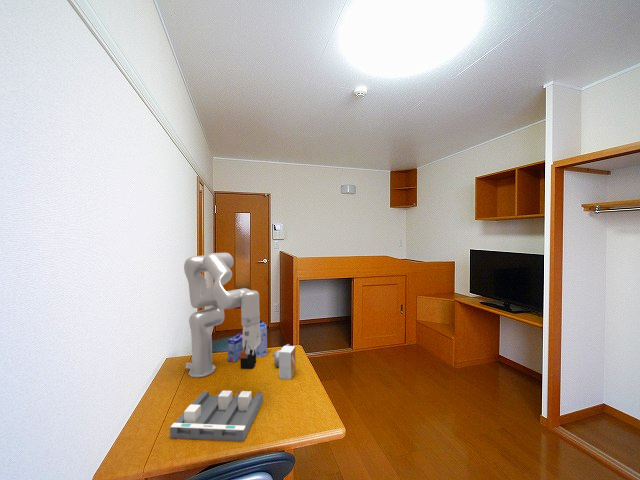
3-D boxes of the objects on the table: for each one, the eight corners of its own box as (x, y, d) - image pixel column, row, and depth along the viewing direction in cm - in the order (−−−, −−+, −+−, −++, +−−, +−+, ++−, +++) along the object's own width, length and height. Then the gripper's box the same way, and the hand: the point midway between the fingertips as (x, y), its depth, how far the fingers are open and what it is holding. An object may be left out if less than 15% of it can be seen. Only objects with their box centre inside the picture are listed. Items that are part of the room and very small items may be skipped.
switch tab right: (238, 410, 103) (238, 396, 103) (242, 404, 107) (241, 391, 107) (248, 410, 103) (248, 397, 103) (251, 404, 107) (251, 391, 107)
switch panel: (170, 437, 92) (170, 426, 92) (203, 399, 114) (203, 390, 114) (243, 441, 89) (243, 429, 89) (262, 401, 111) (262, 392, 111)
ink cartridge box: (235, 362, 147) (235, 336, 147) (227, 361, 149) (226, 335, 149) (246, 355, 156) (245, 330, 156) (238, 354, 158) (238, 329, 158)
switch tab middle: (218, 409, 104) (218, 396, 104) (222, 403, 108) (222, 390, 108) (228, 410, 103) (228, 396, 103) (232, 403, 107) (232, 390, 107)
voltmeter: (298, 368, 139) (297, 349, 139) (276, 373, 135) (276, 353, 135) (283, 349, 164) (283, 333, 164) (265, 353, 159) (265, 336, 159)
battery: (252, 369, 139) (252, 350, 139) (240, 369, 140) (239, 350, 140) (255, 365, 144) (255, 346, 144) (243, 365, 144) (242, 346, 144)
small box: (291, 379, 128) (291, 352, 128) (278, 378, 129) (278, 351, 129) (296, 371, 136) (295, 346, 136) (284, 370, 137) (283, 345, 137)
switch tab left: (184, 426, 95) (184, 411, 95) (190, 418, 99) (190, 404, 99) (195, 426, 94) (194, 411, 94) (201, 419, 98) (200, 404, 98)
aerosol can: (270, 352, 159) (269, 319, 159) (262, 358, 152) (261, 323, 152) (259, 350, 163) (258, 317, 163) (251, 355, 155) (250, 321, 155)
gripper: (253, 325, 105) (254, 372, 105) (264, 315, 120) (265, 356, 120) (235, 326, 105) (236, 372, 105) (248, 315, 120) (249, 356, 120)
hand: (252, 363), depth 112 cm, fingers closed
